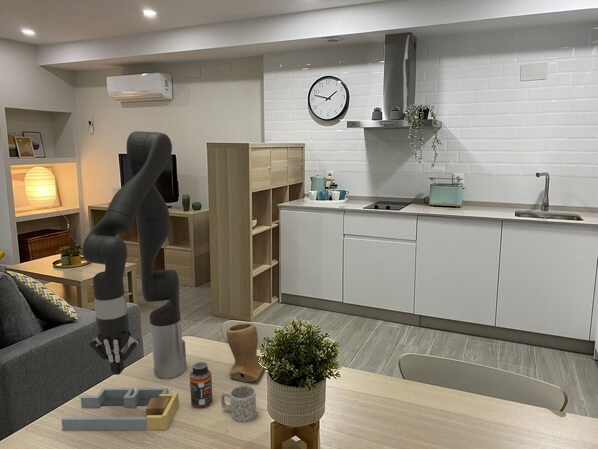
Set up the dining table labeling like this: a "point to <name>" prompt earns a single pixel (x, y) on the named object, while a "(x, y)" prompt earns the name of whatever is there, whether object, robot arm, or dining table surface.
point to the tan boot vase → (244, 352)
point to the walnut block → (157, 406)
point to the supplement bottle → (201, 385)
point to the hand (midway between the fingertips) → (118, 373)
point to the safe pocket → (164, 414)
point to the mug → (241, 403)
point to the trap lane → (114, 398)
